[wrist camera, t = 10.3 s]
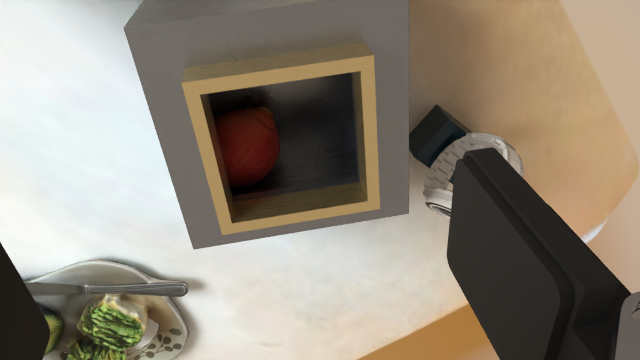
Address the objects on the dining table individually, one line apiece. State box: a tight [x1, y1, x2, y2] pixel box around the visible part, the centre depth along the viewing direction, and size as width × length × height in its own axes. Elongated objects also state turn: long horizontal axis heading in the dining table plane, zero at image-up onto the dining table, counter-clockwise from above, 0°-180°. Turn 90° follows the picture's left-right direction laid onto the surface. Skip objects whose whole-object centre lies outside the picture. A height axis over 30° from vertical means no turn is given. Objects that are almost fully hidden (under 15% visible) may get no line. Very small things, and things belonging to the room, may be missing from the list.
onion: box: [215, 107, 280, 187], centre depth 39 cm, size 6×6×8 cm
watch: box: [409, 105, 524, 220], centre depth 41 cm, size 6×8×11 cm
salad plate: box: [23, 259, 189, 360], centre depth 49 cm, size 19×18×5 cm
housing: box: [124, 0, 409, 249], centre depth 35 cm, size 16×16×12 cm
